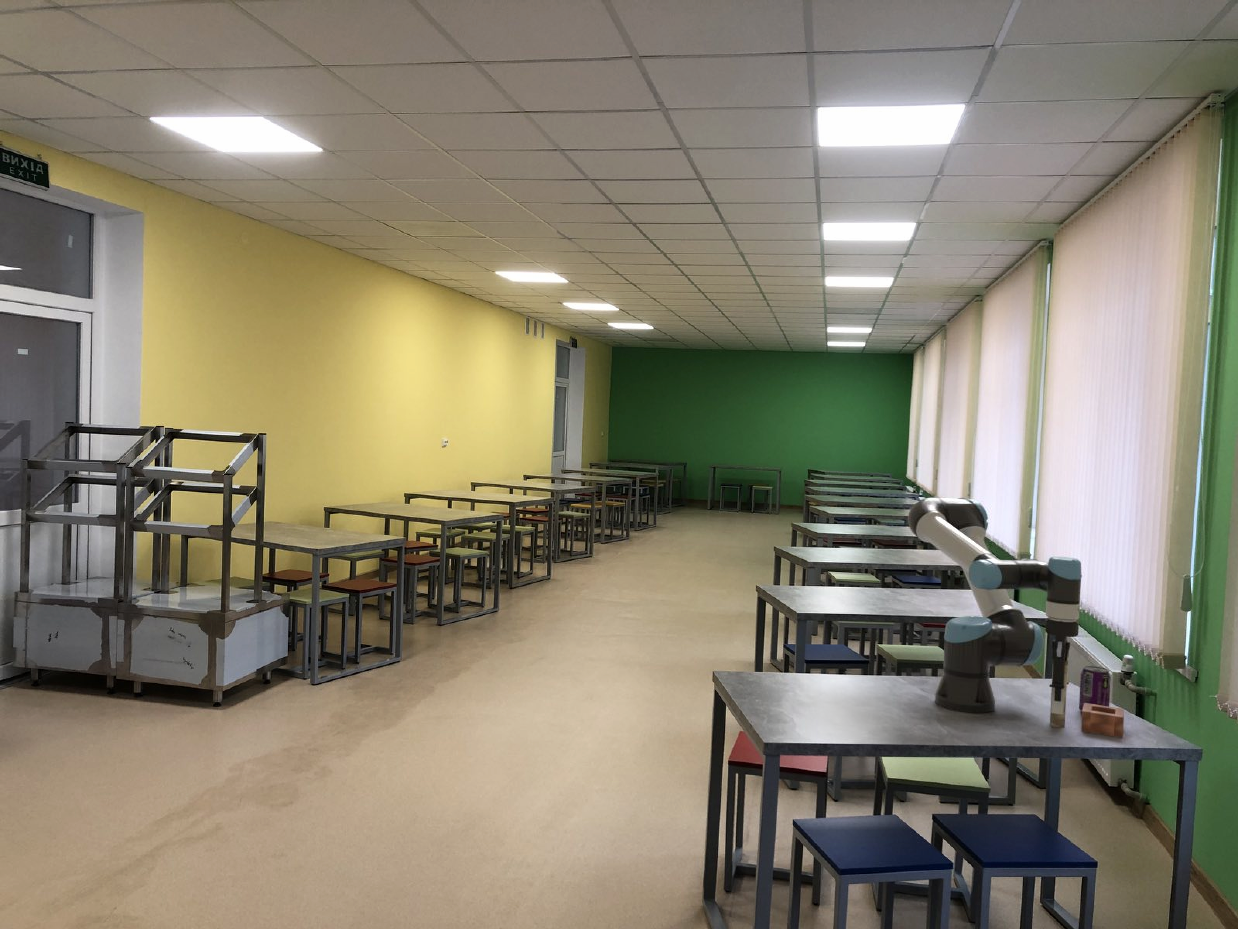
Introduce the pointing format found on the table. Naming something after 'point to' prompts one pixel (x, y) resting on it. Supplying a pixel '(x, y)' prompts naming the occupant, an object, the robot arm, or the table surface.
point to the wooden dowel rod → (1059, 719)
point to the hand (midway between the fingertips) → (1057, 711)
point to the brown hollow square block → (1102, 720)
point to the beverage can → (1094, 686)
